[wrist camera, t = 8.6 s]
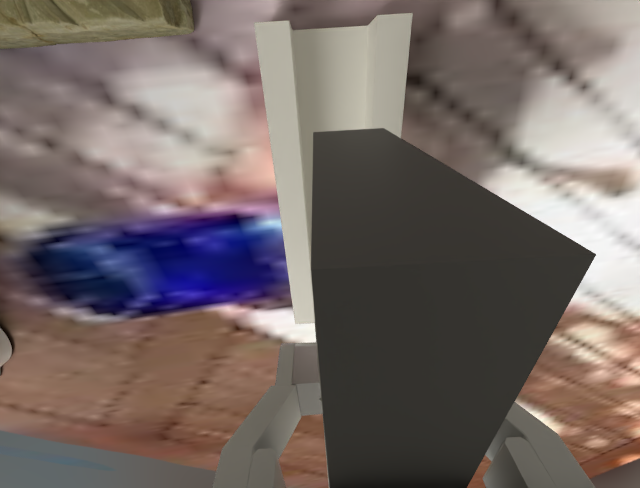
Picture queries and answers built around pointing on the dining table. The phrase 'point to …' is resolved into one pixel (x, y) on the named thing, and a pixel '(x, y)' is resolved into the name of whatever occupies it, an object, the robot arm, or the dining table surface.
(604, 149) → the dining table surface
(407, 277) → the picture frame
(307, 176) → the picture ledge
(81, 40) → the decorative tile
